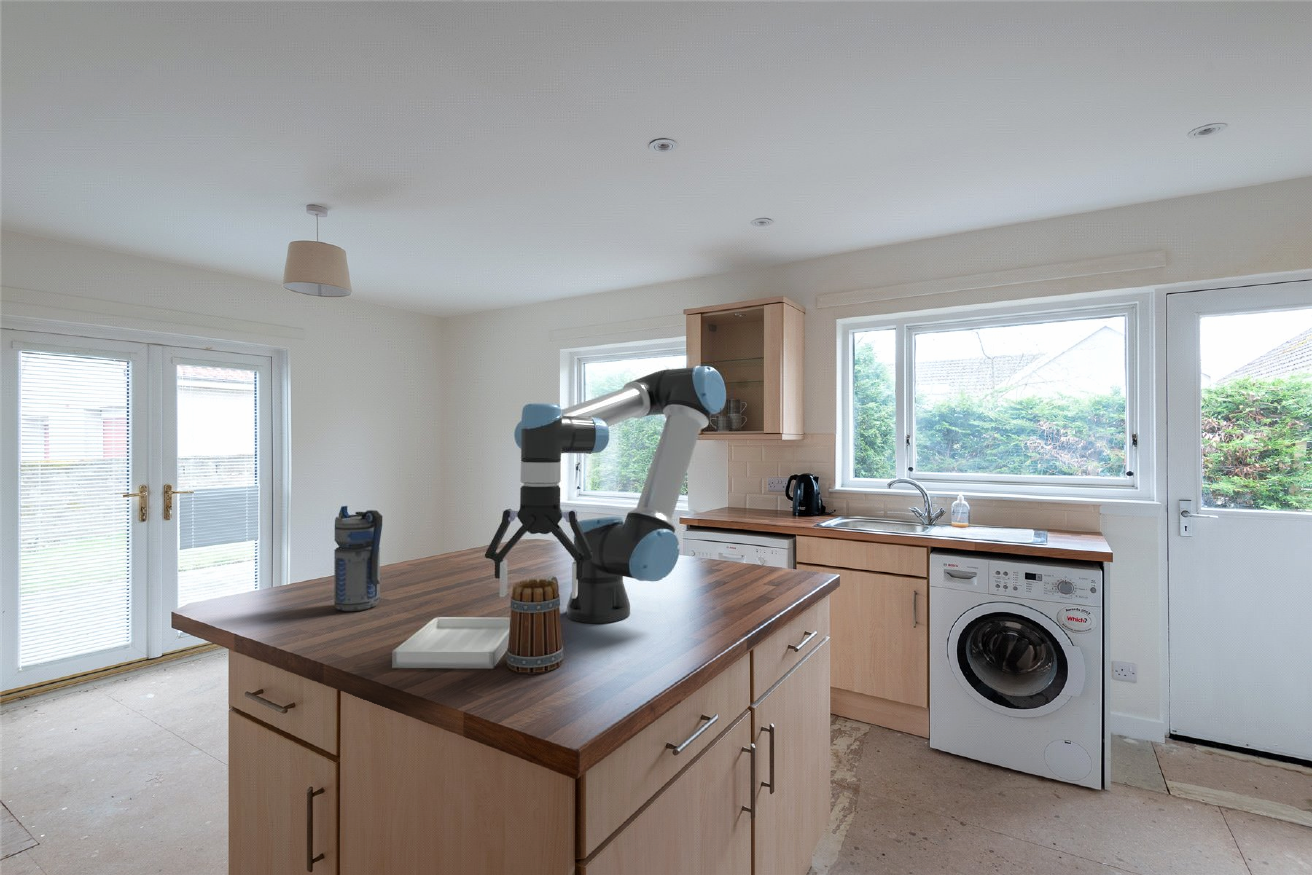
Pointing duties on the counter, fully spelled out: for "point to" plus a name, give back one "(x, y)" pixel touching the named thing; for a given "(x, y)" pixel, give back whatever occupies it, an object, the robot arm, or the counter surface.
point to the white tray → (455, 644)
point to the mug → (535, 627)
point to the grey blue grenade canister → (357, 560)
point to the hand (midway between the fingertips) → (538, 596)
